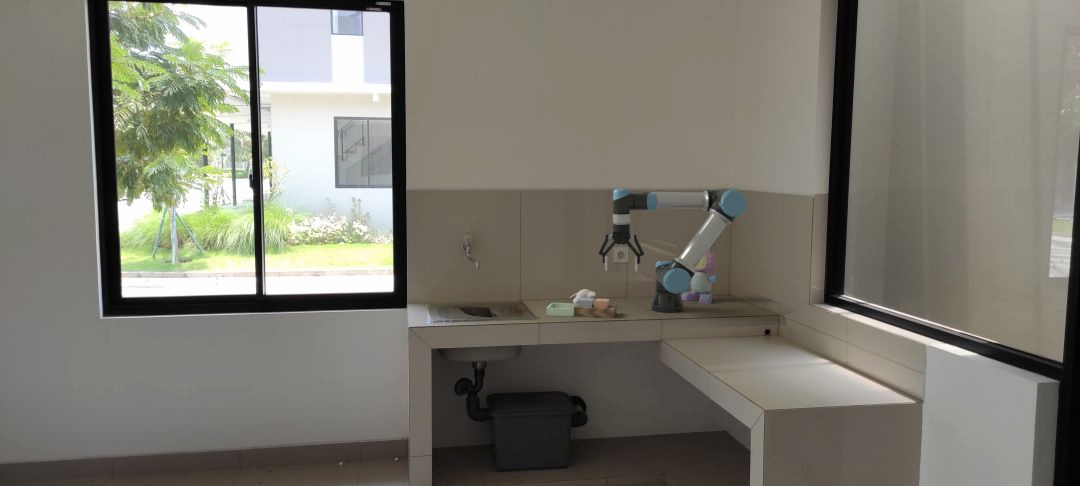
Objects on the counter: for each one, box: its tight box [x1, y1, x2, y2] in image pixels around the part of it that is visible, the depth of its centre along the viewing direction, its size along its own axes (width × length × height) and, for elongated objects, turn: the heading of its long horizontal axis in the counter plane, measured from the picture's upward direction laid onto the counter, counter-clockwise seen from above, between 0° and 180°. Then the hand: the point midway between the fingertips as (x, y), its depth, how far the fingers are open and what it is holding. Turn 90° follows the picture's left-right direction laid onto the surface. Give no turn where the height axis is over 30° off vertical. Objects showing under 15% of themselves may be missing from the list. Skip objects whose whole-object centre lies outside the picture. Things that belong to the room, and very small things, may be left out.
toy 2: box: [681, 241, 720, 305], centre depth 390 cm, size 18×11×30 cm, turn 43°
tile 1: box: [579, 298, 594, 307], centre depth 357 cm, size 6×6×3 cm
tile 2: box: [594, 298, 610, 308], centre depth 356 cm, size 6×6×3 cm
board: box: [573, 303, 618, 319], centre depth 357 cm, size 18×10×4 cm, turn 76°
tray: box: [545, 302, 577, 318], centre depth 360 cm, size 12×13×4 cm
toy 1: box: [569, 288, 597, 304], centre depth 376 cm, size 13×9×15 cm
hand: (621, 270), depth 352 cm, fingers open, 13 cm apart
